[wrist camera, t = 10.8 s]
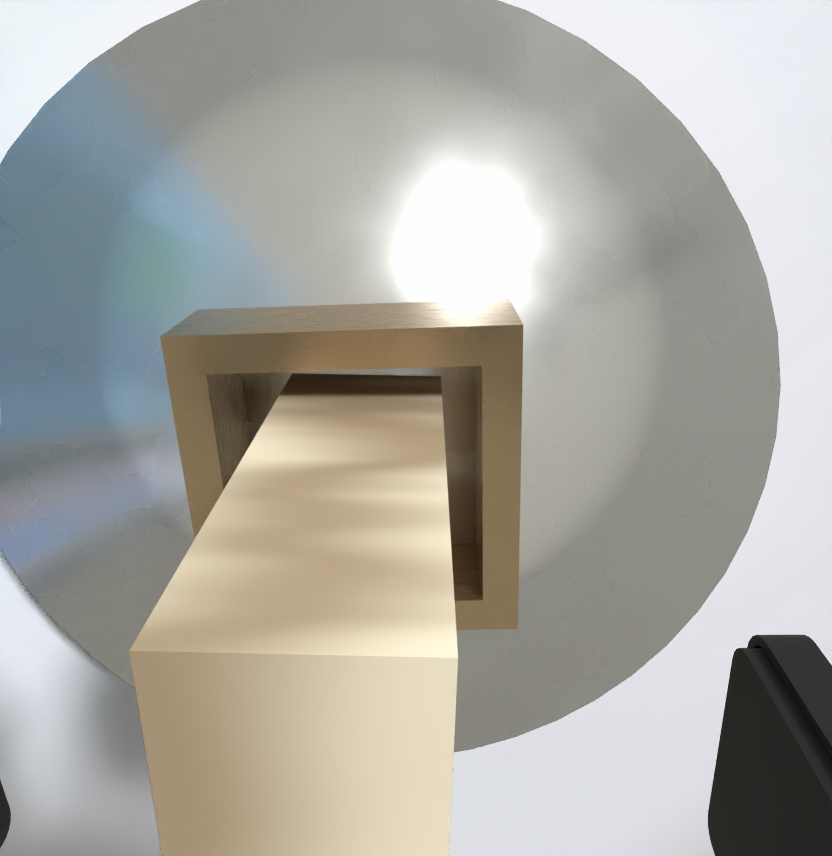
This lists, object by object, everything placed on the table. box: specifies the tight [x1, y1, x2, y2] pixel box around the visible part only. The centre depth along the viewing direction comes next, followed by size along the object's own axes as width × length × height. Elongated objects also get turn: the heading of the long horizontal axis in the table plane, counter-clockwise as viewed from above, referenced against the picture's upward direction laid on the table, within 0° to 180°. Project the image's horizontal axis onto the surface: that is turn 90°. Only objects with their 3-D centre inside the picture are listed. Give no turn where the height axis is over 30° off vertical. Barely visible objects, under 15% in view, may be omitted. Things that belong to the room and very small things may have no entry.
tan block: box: [129, 373, 458, 856], centre depth 13 cm, size 4×4×10 cm
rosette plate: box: [0, 0, 781, 752], centre depth 17 cm, size 20×20×4 cm
